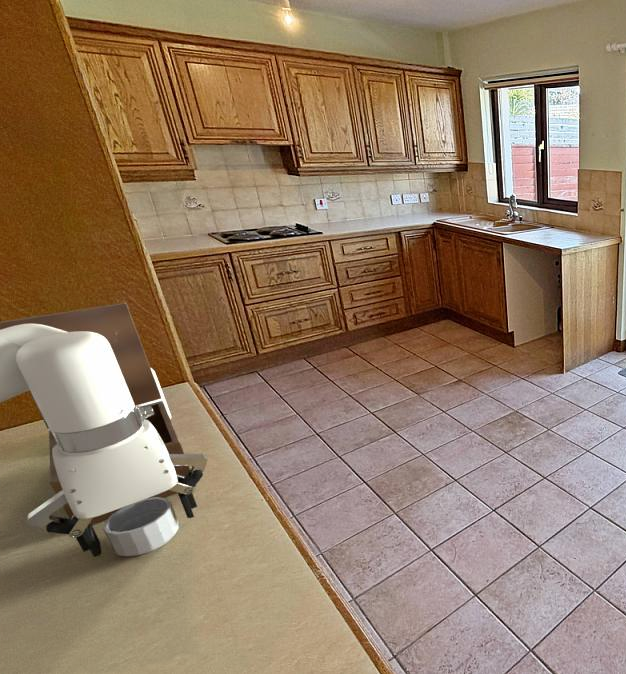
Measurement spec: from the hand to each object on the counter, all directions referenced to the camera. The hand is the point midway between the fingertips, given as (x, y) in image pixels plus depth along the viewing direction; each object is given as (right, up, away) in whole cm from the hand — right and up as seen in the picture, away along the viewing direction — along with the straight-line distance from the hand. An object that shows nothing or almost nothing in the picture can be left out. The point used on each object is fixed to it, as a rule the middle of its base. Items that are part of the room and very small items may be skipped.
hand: (145, 530), depth 66 cm
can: (-23, +10, +25) cm, 36 cm away
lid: (-18, +23, +9) cm, 30 cm away
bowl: (0, -1, +1) cm, 2 cm away
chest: (-13, +4, +11) cm, 17 cm away
